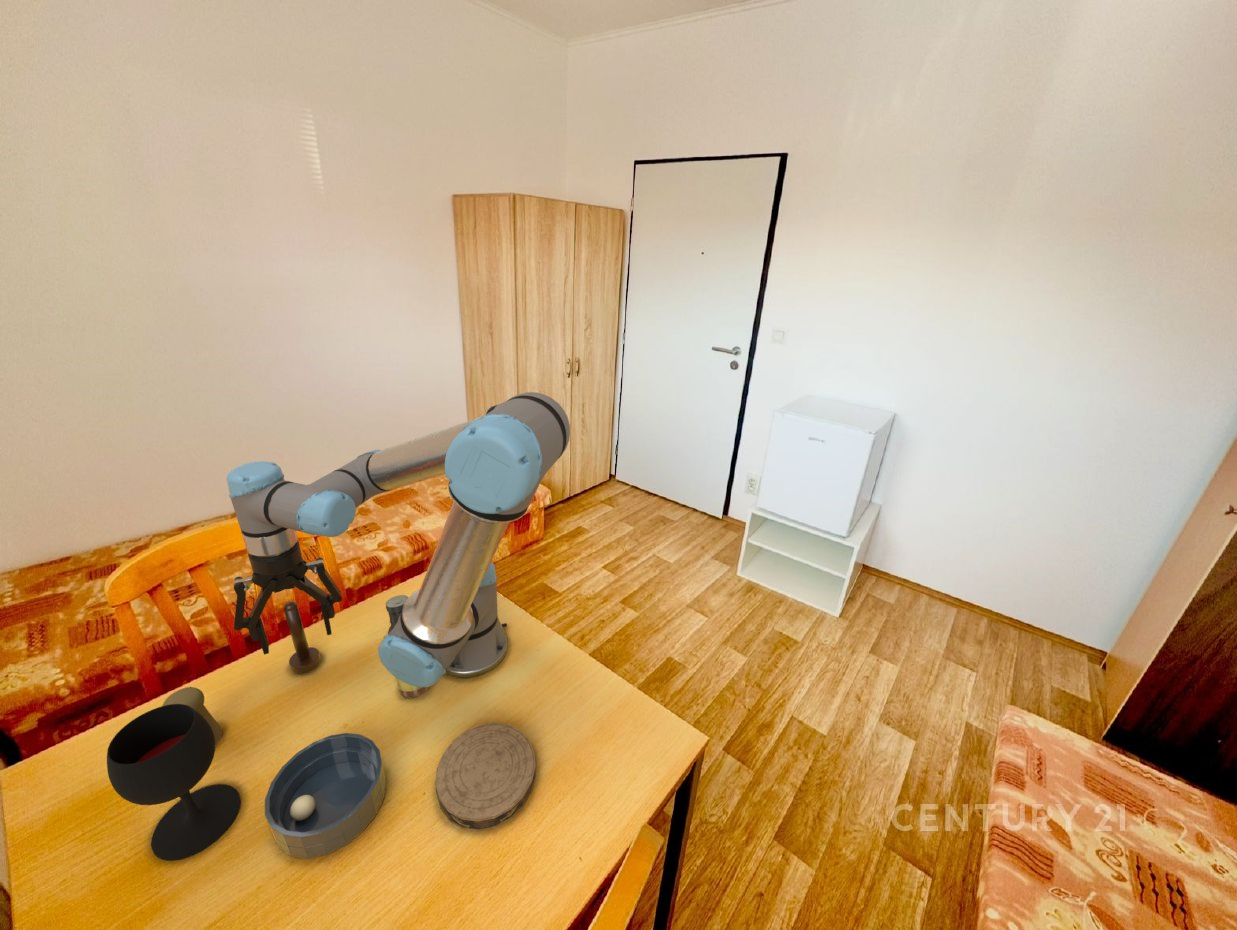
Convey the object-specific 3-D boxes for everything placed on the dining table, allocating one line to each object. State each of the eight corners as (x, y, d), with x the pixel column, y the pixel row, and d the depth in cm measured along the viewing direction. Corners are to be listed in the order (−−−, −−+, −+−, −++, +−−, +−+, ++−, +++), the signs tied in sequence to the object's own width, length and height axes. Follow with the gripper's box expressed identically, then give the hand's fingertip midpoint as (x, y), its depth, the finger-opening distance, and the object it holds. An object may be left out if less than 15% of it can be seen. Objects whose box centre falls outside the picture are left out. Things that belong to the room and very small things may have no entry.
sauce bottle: (425, 699, 93) (404, 613, 86) (393, 699, 93) (370, 613, 86) (439, 674, 99) (420, 591, 92) (409, 674, 99) (388, 591, 93)
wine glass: (228, 771, 79) (191, 685, 70) (251, 818, 73) (214, 730, 65) (143, 823, 72) (90, 734, 63) (161, 880, 66) (105, 790, 57)
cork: (197, 762, 80) (176, 717, 75) (167, 753, 81) (144, 708, 76) (231, 729, 85) (213, 685, 81) (202, 721, 86) (183, 677, 82)
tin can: (487, 854, 72) (486, 842, 70) (415, 791, 79) (413, 779, 77) (554, 765, 84) (554, 754, 83) (487, 718, 91) (486, 707, 90)
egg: (316, 798, 76) (312, 786, 74) (317, 818, 74) (313, 805, 72) (292, 809, 74) (287, 797, 73) (292, 829, 72) (288, 817, 70)
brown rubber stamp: (320, 650, 102) (304, 590, 95) (322, 668, 98) (306, 606, 91) (290, 660, 99) (272, 598, 92) (291, 678, 95) (272, 616, 89)
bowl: (377, 741, 86) (373, 718, 83) (394, 823, 74) (389, 799, 72) (273, 785, 78) (265, 761, 75) (274, 884, 66) (264, 860, 64)
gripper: (342, 521, 95) (359, 609, 104) (194, 551, 83) (228, 647, 93) (347, 541, 89) (364, 632, 99) (189, 576, 77) (226, 675, 87)
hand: (298, 639), depth 96 cm, fingers open, 10 cm apart
